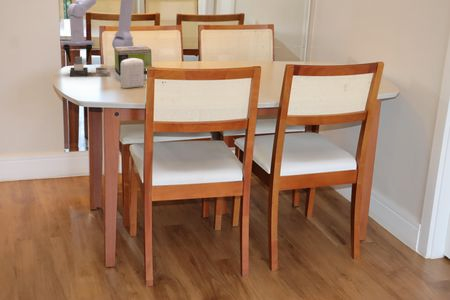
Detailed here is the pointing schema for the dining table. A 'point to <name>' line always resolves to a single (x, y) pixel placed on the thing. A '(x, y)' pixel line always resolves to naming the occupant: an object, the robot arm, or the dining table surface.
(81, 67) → the plug
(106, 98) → the dining table surface
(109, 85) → the dining table surface
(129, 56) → the tea box
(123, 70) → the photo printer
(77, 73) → the panel
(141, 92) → the dining table surface
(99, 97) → the dining table surface
